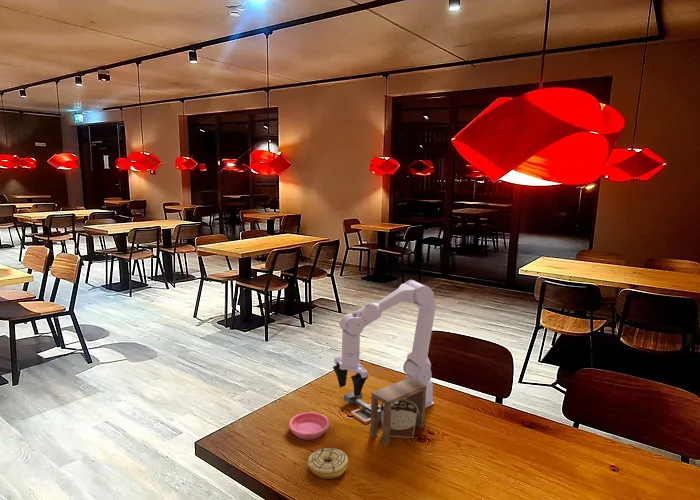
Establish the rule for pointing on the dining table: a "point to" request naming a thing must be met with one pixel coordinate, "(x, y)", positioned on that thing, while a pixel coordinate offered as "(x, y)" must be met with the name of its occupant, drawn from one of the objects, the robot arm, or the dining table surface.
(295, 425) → the pink shallow round bowl
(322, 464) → the decorated donut
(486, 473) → the dining table surface
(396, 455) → the dining table surface
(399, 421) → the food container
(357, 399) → the grey piece
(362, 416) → the picture frame
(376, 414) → the tunnel
